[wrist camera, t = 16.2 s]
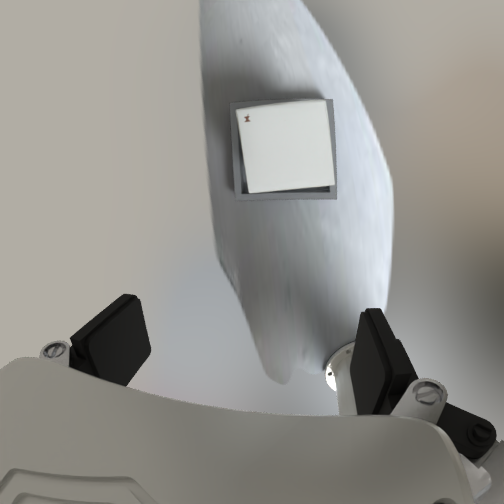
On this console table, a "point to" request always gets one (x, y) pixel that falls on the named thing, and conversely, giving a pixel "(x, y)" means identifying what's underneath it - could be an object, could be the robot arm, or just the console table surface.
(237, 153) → the holder tray
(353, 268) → the console table surface
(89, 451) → the robot arm
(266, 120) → the supplement box
